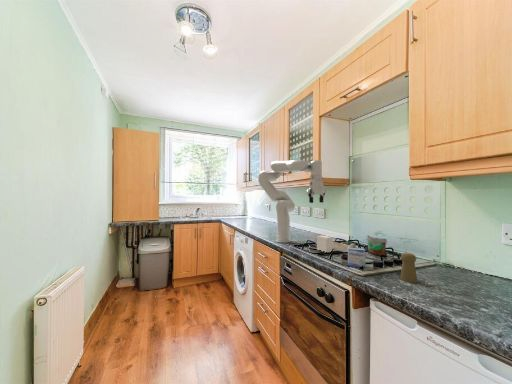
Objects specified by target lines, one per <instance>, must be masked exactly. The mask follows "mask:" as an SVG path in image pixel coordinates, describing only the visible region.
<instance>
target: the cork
mask: <svg viewBox="0 0 512 384" xmlns="http://www.w3.org/2000/svg"><path fill="white" fill-rule="evenodd" d="M400 259H401V262H402V264H401V271H400V275H399V276H400V277H399V280H400V281H401V282H405V283H410V284H416V283H418V277H417V269H416V265H415V264H416V261H417V256H416V255H415V254H414V253H410V252H409V253H408V252H404V253H401V256H400Z"/></svg>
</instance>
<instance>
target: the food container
mask: <svg viewBox="0 0 512 384" xmlns="http://www.w3.org/2000/svg"><path fill="white" fill-rule="evenodd" d="M365 240H366V241H367V250H368V254H369V255H372V256H380V257H382V256H381V255H384V256H385V255H386V245H387V242H388V240H387V238H379V237H372V236H370V235H366V239H365Z"/></svg>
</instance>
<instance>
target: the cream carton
mask: <svg viewBox="0 0 512 384" xmlns="http://www.w3.org/2000/svg"><path fill="white" fill-rule="evenodd" d="M332 242H333V237H332V236H327V235H317V245H316V250H317V251H319V250H321V251H320V252H323V251H325V252H324V253H326V252H327V253H332V252H333V249H332ZM331 251H332V252H331Z"/></svg>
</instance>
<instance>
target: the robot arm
mask: <svg viewBox="0 0 512 384" xmlns="http://www.w3.org/2000/svg"><path fill="white" fill-rule="evenodd" d="M270 169H271V171H270V170H262V171H260V172H259V174H258V176H257V177H258V183H259V185H260V187H261V188H262V189H263V191H264V192H265V193H266V195H267V196H268V198H269V199H270V200H271V201H272V202H273V203H276V204H275V209H276V217H277V218H276V219H277V221H276V226H277V227H276V230H277V234H276V235H275V238H276V239H275V240H274V241H275V242H277V243H282V244H283V243H286V244H288V243H291V242H292V241H293V240H292V239H291V238H290V237H291V236H290V235H291V234H290V233H291V232H290V230H291V229H290V227H291V226H290V225H291V222H290V220H291V219H290V214H289V213H290V212H292V211H294V210H295V207H296V206H295V202H294V201H293V199H292V198H291V197H290V195H288V194H287V192H286V191H284V190H282V189H277V188H276V186H275V185H274V184H273V183H272V182H275V181H277V180H278V178H280V177H281V176H283V174H284V173H290V172H295V171H296V172H305V173H310V176H309V178H310V180H309V187H308V189H307V190H306V193H307V196H308V197H309V198H308V199H309V203H310V204H313V203H314V195H318V196H319V198H318V200H319V203H323V204H324V197H325V195H326V192H327V191H326V190H325V187H324V186H325V185H324V180H323V170H322V169H323V163H322V161H321V160H319V159H317V160H316V159H314V160H312V161H307V160H302V159H301V160H300V159H298V160H297V159H296V160H275V161H272V162H271V164H270Z"/></svg>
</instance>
